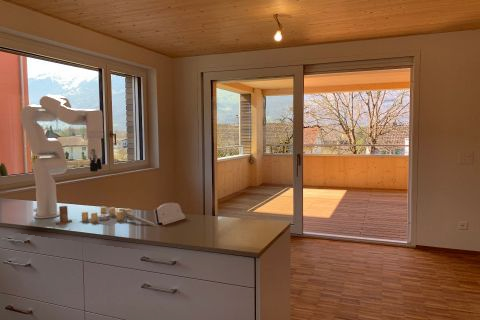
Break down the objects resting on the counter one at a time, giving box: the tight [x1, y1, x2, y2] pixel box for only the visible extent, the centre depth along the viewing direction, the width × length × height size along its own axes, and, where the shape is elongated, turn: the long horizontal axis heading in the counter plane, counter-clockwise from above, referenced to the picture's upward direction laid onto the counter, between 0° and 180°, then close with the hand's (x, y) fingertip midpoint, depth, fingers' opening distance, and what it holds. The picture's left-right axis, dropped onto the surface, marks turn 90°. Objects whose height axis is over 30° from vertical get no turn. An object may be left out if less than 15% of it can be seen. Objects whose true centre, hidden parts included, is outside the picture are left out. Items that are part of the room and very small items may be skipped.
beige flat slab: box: [153, 202, 186, 226], centre depth 182 cm, size 17×5×10 cm, turn 147°
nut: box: [97, 213, 110, 220], centre depth 184 cm, size 5×6×2 cm
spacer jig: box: [79, 206, 132, 226], centre depth 183 cm, size 20×18×5 cm
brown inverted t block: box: [55, 205, 73, 226], centre depth 176 cm, size 3×7×9 cm, turn 158°
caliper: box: [122, 210, 157, 227], centre depth 176 cm, size 20×1×6 cm, turn 67°
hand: (96, 170), depth 175 cm, fingers open, 9 cm apart
